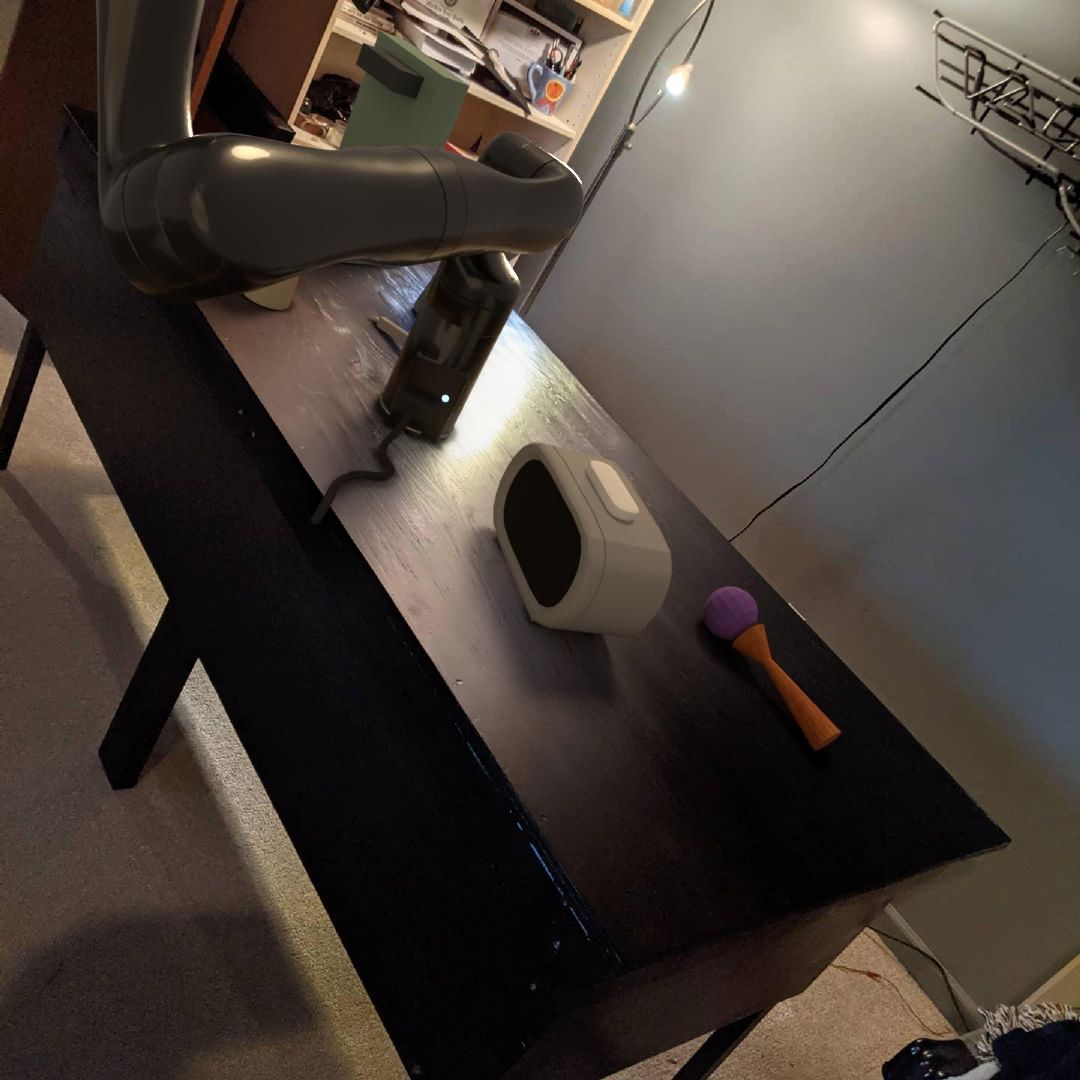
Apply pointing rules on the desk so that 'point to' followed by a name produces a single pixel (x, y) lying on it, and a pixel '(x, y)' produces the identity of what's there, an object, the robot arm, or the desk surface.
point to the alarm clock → (580, 542)
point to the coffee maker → (402, 98)
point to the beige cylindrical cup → (275, 294)
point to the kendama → (764, 657)
